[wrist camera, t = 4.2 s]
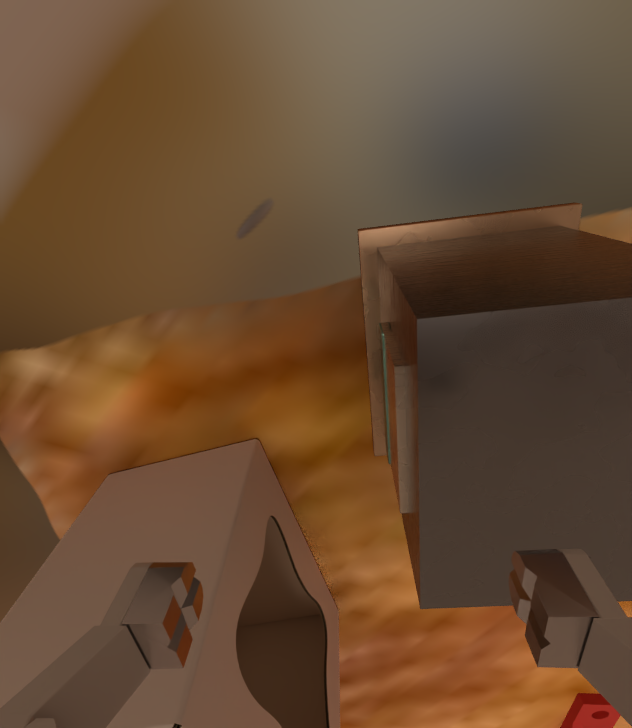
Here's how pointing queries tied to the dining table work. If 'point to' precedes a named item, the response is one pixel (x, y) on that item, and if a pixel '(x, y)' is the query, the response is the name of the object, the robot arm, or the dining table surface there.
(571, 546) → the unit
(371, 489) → the dining table surface
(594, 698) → the bracket
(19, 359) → the dining table surface
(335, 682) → the gable box
